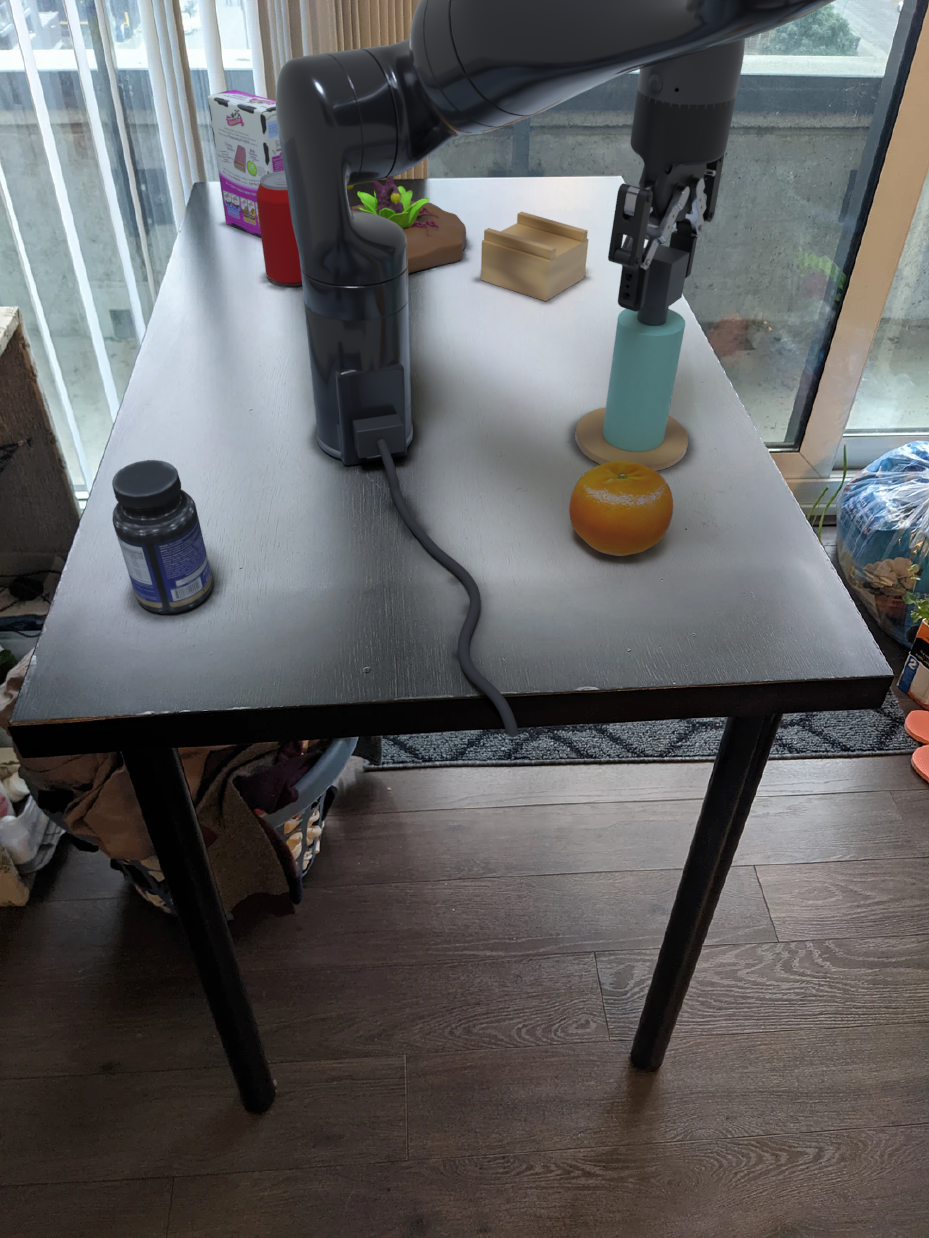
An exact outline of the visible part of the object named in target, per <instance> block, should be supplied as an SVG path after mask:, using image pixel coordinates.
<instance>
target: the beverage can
mask: <svg viewBox="0 0 929 1238" xmlns="http://www.w3.org/2000/svg"><path fill="white" fill-rule="evenodd" d="M256 199H257V207H258V216H259V224H260V232H261V237H260V239H261V245H262V253H263V260H264V261H263V262H264V268H265V274H266V276H267V277H268V279H270V280H272V281H274V282H276V283H278V284H280V285H283V286H288V287H289V286H290V287H292V286H301V285H302V276H301V266H300V257H299V250H298V245H297V241H296V237H295V233H294V229H293V225H292V219H291V213H290V205H289V197H288V190H287V183H286V177H285V171H279V172H272V173H268V174H265V175H263V176H262V177H261V178H260V184H259V187H258V190H257V192H256Z"/></svg>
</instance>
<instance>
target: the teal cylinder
mask: <svg viewBox="0 0 929 1238" xmlns="http://www.w3.org/2000/svg"><path fill="white" fill-rule="evenodd" d="M644 249H645V247H644ZM644 249H643V252H644ZM688 259H689V253H688V252H685V251H681V250H678V249H674V248H671V247H669V246H667V245H664V244H660V245H659V246H658V247H657V250H656V252H655V254H654V257H653V259H652V261H651V264H650V266H649V267H650V271H649V278H648V284H647V291H646V297H645V304H644V307H643V308H642V309H640V310H639V311H636V312H635V311H632V310H629V309H626V308H624V309H623V310H622V311H620V313H619V314H618V316H617V322H616V330H615V336H614V343H613V351H612V359H611V365H610V373H609V381H608V387H607V396H606V403H605V407H606V410H605V417H604V425H603V437H604V438H605V440H606V441H607V442H608V443H609V444H611V445H612V446H614V447H616V448H619V449H622V450H626V451H632V452H644V451H649V450H653V449H655V448H657V447H659V446H660V445H661V444H662V442H663V440H664V436H665V431H666V425H667V420H668V416H670V408H671V403H672V398H673V392H674V387H675V383H676V377H677V372H678V371H677V370H678V366H679V361H680V356H681V349H682V345H683V339H684V334H685V328H686V320H685V318H684V317H683V316H682V315H681V314H680V313H679V312H677V311H675V310H672V309H670V306H672V305H673V304H675V303H676V302H678V301H679V300H680V299H681V298H682V297H683V291H684V287H685V280H686V278H685V276H686V270H687V264H688Z"/></svg>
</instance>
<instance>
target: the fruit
mask: <svg viewBox="0 0 929 1238" xmlns="http://www.w3.org/2000/svg"><path fill="white" fill-rule="evenodd" d="M568 507H569V508H568V509H569V511H568V512H569V513H568V514H569V519H570V523H571V526H572V528H573V529H574V531H575V533H576V534H577V535H578V536H579V538H581V539H582V540H583V541H584V542H585V543H586V544H587V545H588V546H589V547H591V548H592V549H594V550H595V551H597V552H599V553H602V554H605V555H610V556H616V557H626V556H630V555H636V554H639V553H642V552H645V551H646V550H649V549H650V548H653V547H654V546H656V545H657V544H659V542H660V541H661V540H662V539H663V538H664V536H665V535H666V533H667V531H668V529H669V527H670V524H671V521H672V518H673V515H674V514H673V513H674V512H673V511H674V498H673V493H672V490H671V488H670V486H669V484H668V482H667V481H666V479H665V478H664V477H663V476H662V475H661V474H660V473H659V472H658V471H655V470H653V469H651V468H649V467H647V466H645V465H642V464H639V463H634V462H628V461H612V462H607V463H604V464H598V465H597V466H594V467H592V468H590V469H589V470H587V471H586V472H584V474H583V475H582V476H580V478H579V480H577V482H576V484H575V486H574V488H573V491H572V494H571V496H570V501H569V506H568Z"/></svg>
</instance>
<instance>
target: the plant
mask: <svg viewBox="0 0 929 1238" xmlns="http://www.w3.org/2000/svg"><path fill="white" fill-rule="evenodd" d="M385 179H386V180H385V185H382V184H381V183H380V182H379V180H376V181H371V182H369V183H370V186H371V187H372V188H373V190H374V191H373V193H374V194H373V195H374V196H373V195H371V194H370V193H367V192H364V191H363V192H362V191H359V190H358V191H357V196H358V198H360V201H361V203H362V204H358V205H356V206H355V205H354V206H349V207H350V209H351V210H356V211H361V212H366V213H371V214H375V215H379V216H382V217H384V218H387V219H389V220H391V221H393V222H394V223H396V224H397V225H399V226H400V227H401V228H402V230H403V231H404V233H405V235H406V239H407V251H408V274H412V273H415V272H419V271H423V270H427V269H431V268H433V267H438V266H442V265H446V264H451V263H455V262H456V263H457V262H459V261H462V259H463V255H464V254H463V253H464V252H463V251H464V249H465V248H466V246H467V227H466V225H465V223H464V222H463V221H462V219H461V218H460V217H459V216H458V215H457V214H456V213H453V212H450V211H446V210H444V209H442V208H441V207H439V206H438V205H436V204H434V203H432V202H430V198H429V197H427V198H421V199H419V200H417V201H414V200H412V198H413V190H411V189H410V190H408V191H406V189H405V187H404V186H402V185H399V186H397V185H396V184H395V183H394V181H395V180H394V177H390V178H385ZM354 186H355V185H351V186H347V191H350V190H352V189H353V188H354Z"/></svg>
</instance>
